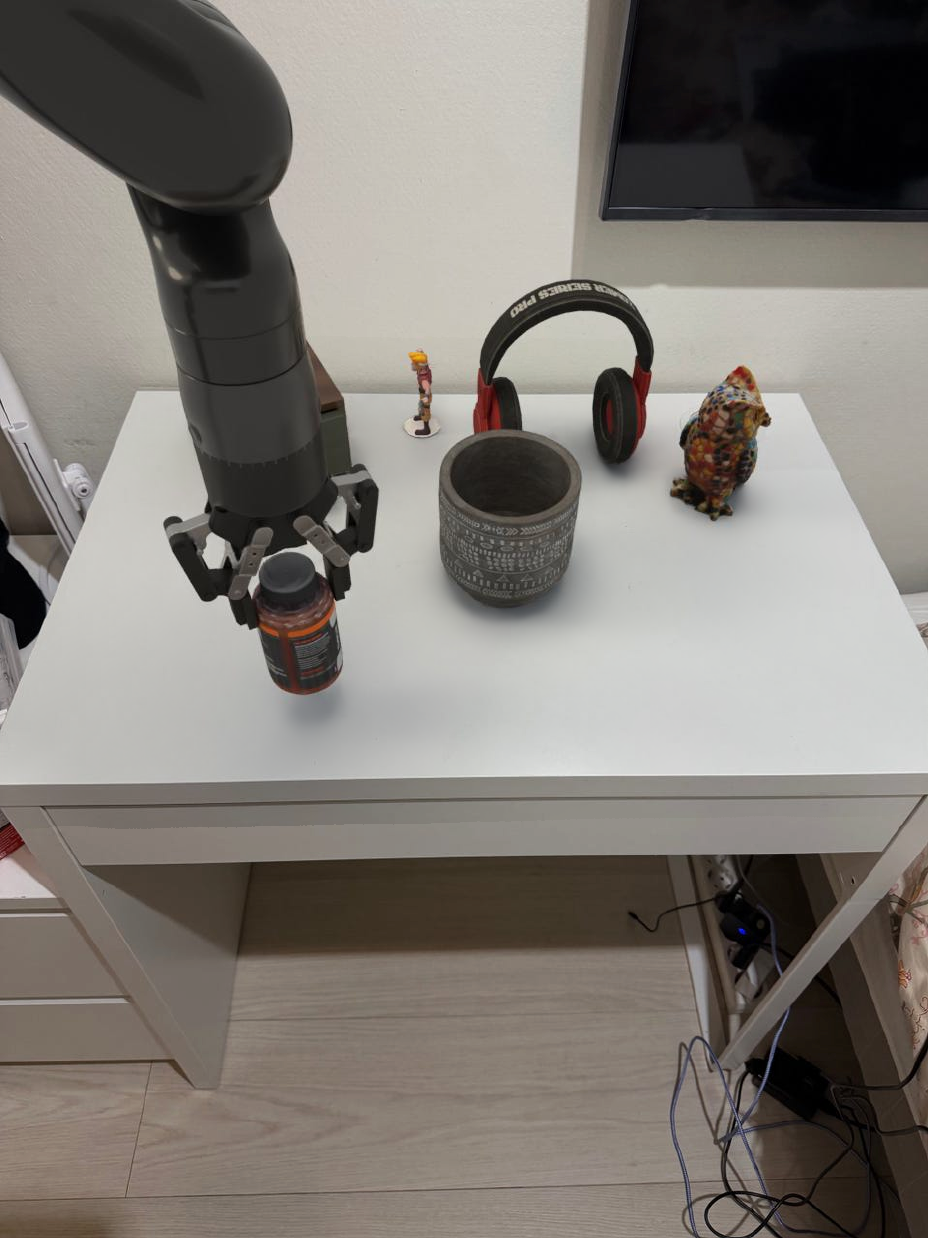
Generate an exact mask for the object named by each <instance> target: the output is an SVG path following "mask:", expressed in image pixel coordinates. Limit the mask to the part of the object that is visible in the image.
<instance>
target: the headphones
mask: <svg viewBox="0 0 928 1238" xmlns="http://www.w3.org/2000/svg"><path fill="white" fill-rule="evenodd" d="M575 312H594V313H600V314H605V315H608V316H610V317H614V318H616V319H617V320H619V321H620V322H622V323H623V324H624V325H625V326H626V328H627V329H628V331H629V333H630V334H631V336H632V339H633V343H634V346H635V349H636V350H635V351H636V355H635V357H634V367H633V372H632V376H631V375H630V374H629V373H628V372H627V371H626V370H625V369H624V368H622V367H617V366H613V367H609V368H606V369H603V371H601V373H600V374H599V375H598V376H597V379H596V381H595V383H594V384H595V386H594V388H593V394H592V403H591V415H592V430H593V434H594V438H595V439H594V440H595V444H596V447H597V450H598V452H599V454H600V456H601V458H602V459H603V460H604V461H606V462H607V463H608V464H614V465H620V464H623V463H625V462H627V461H628V460H630V458H631V457H632V455H633V454H634V453H635V452H636V450H637V449H638V446H639V442H640V440H641V438H643V435H644V433H645V431H646V426H647V425H646V424H647V417H648V415H647V405H646V402H647V398H648V397H649V391H650V386H651V382H652V375H653V371H652V366H653V364H654V356H655V349H654V348H655V347H654V340H653V337H652V334H651V332H650V329H649V327H648V325H647V323H646V321H645V319H644V317H643V316H642V313H640V311H639V309H638V306H637V305H635V303H634V302H633V301H632V300H631V298H629V297H628V295H626V294H625V293H623V292H622V291H621V290H619V289H618V288H616V287H614V286H612V285H610V284H608V283H605V282H603V281H599V280H593V279H588V278H587V279H581V278H580V279H579V278H578V279H577V278H576V279H575V278H573V279H572V278H571V279H565V280H559V281H558V280H557V281H554V282H550V283H548V284H544V285H542V286H539V287H536V288H535V289H534V290H531V291H530V292H527V293H526V294H525V295H523V296H521V297H519V299H518V300H516V301H514V302H513V303H512V304H511V305H510V306H509V307H508V308H507V309H506V310H505V311H504V312H503V313H501V315H499V317H498V319H496V321H495V322H494V324H493V325H492V326H491V328H490V330H489V331H488V333H487V335H486V337H485V338H484V341H483V344H482V346H481V349H480V355H479V367H478V370H477V381H476V382H477V385H476V393H477V401H476V402H475V405H474V409H473V414H472V427H473V434H476V433H479V432H483V431H489V430H499V429H512V430H522V431H524V430H523V428H524V427H523V414H522V409H521V403H520V399H519V395H518V392H517V389H516V386H515V384H514V382H513V381H512V380H511V379H510V378H508V377H507V376H496V377H494V376H495V374H496V373H497V370H498V367H499V365H500V363H501V362H502V361H501V360H502V359H503V358H504V356H505V354H506V353H507V351H508V349H510V347H512V345H513V344H514V343H515V342H516V341H517V340H518V339H519V338H520V337H522V335H524V334H525V333H527V331H529V330H531V329H533V328H534V327H536V326H537V325H539V324H541V323H543V322H545V321H547V320H549V319H551V318H555V317H557V316H561V315H564V314H568V313H569V314H570V313H575Z"/></svg>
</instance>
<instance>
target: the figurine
mask: <svg viewBox="0 0 928 1238" xmlns="http://www.w3.org/2000/svg"><path fill="white" fill-rule="evenodd" d="M771 420H772V418H771V416H770V414H769V413H768V412H767V409H766V406H765V405H764V403H763V400H762V395H761V392H760V389H759V387H758V385H757V381H756V379H755V375H753V372H752V371H751V370H750V369H749V368H748V367H747V366H745V365H744V364H741V365H738V366H737V367H736V368H735V369H734V370H732V371H731V372H730V373H728V375H727V376H726V378H725V379H724V380H723V381H722V382H721V383H720V384H718V385H715V387H714V388H713V389H712V390H711V391H708V392H707V395H706V396H705V398H703V400H702V403H701V405H700V407H699V408H698V414H696V415H695V416H692V418H691V419H689V420H688V421H686V423H685V425H684V427H683V428H682V430H681V432H680V436H679V441H678V445H679V447H680V448H681V450H683V459H684V460H683V464H684V471H685V474H686V475H685V476H684V478H682V477H680V476H677V477H674V478H673V479H672V483H673V485H674V487H671V488H670V490H669V495H670V496H671V497H676V498H679V499H681V500H682V501H683V502H684V503H685V504H686V505H691V506H693V507H694V510H695V511H696V512H701V513H704V514H708V515H709V518H710V519H711V521H714V522H716V521H717V519H718V518H719V517H721V516H731V517H732V516H733V515H734V511H735V510H734V509H733V508H732V505H730V504H729V503H728V501H729V500H730V497H731V495H732V492H735V491H736V489H737V486H739V485H744V484H745V483H747V482H748V481H749V479H750V478H751V476H752V474H753V473H754V471H755V468H756V465H757V460H758V451H759V449H758V441H757V438H756V436H755V435H756V433H757V431H758V430H759V428H760V427H764V428H768V427H770V426H771V424H772V421H771Z"/></svg>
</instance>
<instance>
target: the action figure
mask: <svg viewBox="0 0 928 1238" xmlns="http://www.w3.org/2000/svg"><path fill="white" fill-rule="evenodd" d="M408 357H409V358H410V360H411V363H410V365H411V371H413V372H416V380H417V384H418V386H419V387H418V394H419V401H418V408H417V411H418V414H417V415H414V416H412V417H410V418H408V419H406V421H405V422H404V424H403V425H404V427H403V428H404V430H405V432H406V433H407V434H408V435H410V436H412V437H416V438H428V437H432V436H434V435H435V434H436V433H437V432H438V431H439V430H440V422H439V421H438V420H437V419H436V418H434V417H432V413H431V403H432V402H433V393H432V391H431V386H432V384H433V375H432V374H433V373H432V368H434V366H435V365H437V363H436V362H429V360H428V355H427V354H426V353H425V352H424V350H423V348H422V347H417V349H416V350H415V352H413V351H412V352H408ZM430 368H431V369H430Z"/></svg>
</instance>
